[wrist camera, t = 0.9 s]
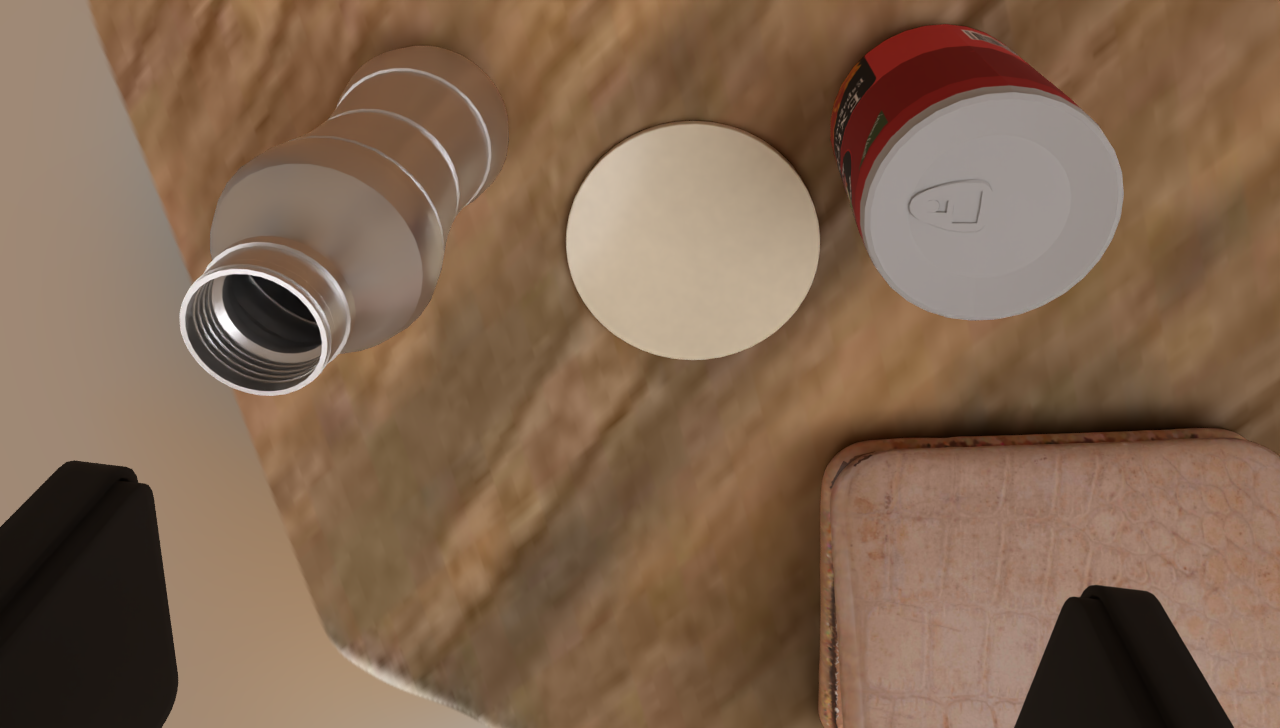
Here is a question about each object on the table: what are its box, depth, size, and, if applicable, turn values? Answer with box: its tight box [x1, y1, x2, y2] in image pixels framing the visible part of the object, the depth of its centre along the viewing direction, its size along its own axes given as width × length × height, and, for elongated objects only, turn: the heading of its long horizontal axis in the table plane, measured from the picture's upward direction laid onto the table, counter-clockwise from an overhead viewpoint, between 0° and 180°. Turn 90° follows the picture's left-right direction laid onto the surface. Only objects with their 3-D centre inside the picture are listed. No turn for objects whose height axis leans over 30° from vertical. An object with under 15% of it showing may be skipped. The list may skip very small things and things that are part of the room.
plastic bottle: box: [180, 46, 509, 396], centre depth 34 cm, size 6×7×20 cm
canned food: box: [831, 24, 1124, 320], centre depth 37 cm, size 8×8×11 cm
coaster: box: [566, 121, 820, 360], centre depth 45 cm, size 11×11×1 cm
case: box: [818, 428, 1280, 728], centre depth 46 cm, size 20×21×16 cm
